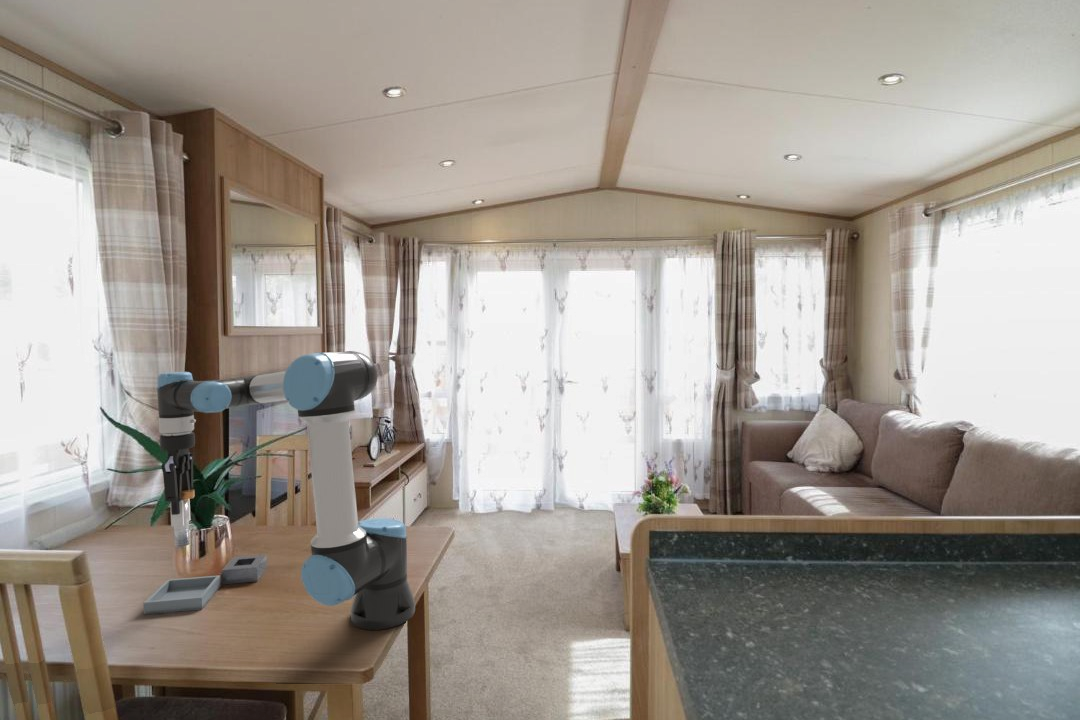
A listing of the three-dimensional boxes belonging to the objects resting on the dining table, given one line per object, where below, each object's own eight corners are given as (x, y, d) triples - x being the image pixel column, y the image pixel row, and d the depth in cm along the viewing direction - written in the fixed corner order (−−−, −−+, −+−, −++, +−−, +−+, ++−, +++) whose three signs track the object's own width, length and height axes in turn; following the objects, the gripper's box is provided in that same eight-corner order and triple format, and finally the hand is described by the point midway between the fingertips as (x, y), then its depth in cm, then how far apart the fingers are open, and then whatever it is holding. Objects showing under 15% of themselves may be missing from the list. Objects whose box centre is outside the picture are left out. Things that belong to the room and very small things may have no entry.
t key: (167, 548, 143) (164, 494, 142) (170, 543, 146) (168, 491, 145) (194, 545, 145) (191, 492, 144) (197, 540, 148) (195, 488, 147)
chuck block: (257, 581, 156) (257, 567, 156) (222, 584, 154) (221, 570, 154) (266, 567, 165) (266, 554, 165) (233, 570, 163) (232, 557, 163)
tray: (202, 609, 141) (201, 597, 141) (144, 614, 138) (143, 602, 138) (221, 585, 153) (220, 575, 153) (168, 590, 151) (167, 579, 151)
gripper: (179, 438, 136) (183, 533, 138) (205, 426, 152) (209, 512, 153) (145, 439, 135) (149, 536, 136) (174, 427, 151) (178, 514, 152)
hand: (181, 523), depth 145 cm, fingers closed on t key, 3 cm apart
